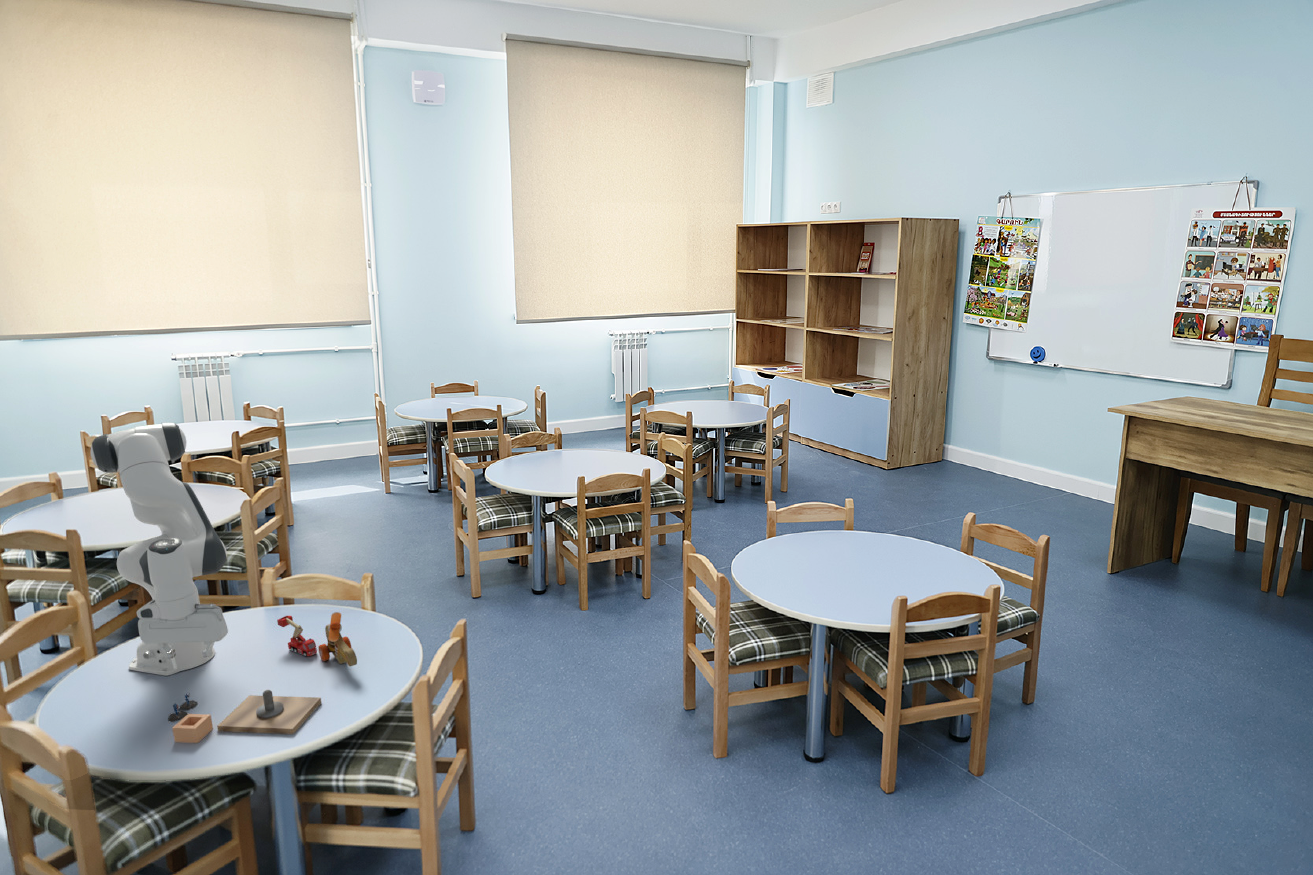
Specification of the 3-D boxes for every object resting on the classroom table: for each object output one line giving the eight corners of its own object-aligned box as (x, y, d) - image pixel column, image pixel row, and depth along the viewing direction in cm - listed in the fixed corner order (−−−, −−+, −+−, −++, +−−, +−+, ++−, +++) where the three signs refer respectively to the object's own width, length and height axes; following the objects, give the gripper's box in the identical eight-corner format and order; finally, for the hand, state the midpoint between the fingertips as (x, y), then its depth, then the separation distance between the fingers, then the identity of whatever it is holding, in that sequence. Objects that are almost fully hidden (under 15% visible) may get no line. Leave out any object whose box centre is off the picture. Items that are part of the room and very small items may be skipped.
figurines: (181, 723, 210) (178, 708, 209) (162, 723, 210) (159, 708, 209) (203, 701, 219) (200, 686, 218) (185, 701, 220) (183, 687, 219)
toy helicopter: (346, 647, 246) (340, 605, 243) (371, 674, 230) (365, 629, 227) (318, 656, 241) (311, 613, 238) (342, 684, 225) (335, 639, 222)
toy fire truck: (309, 658, 240) (304, 628, 238) (280, 647, 247) (276, 618, 245) (318, 653, 243) (314, 623, 240) (290, 642, 250) (286, 613, 248)
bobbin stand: (218, 731, 205) (213, 704, 203) (250, 700, 219) (246, 674, 217) (293, 734, 203) (289, 706, 201) (321, 702, 217) (317, 676, 215)
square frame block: (175, 742, 201) (172, 727, 200) (190, 727, 207) (188, 713, 206) (197, 743, 201) (195, 728, 200) (213, 728, 206) (210, 714, 206)
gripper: (227, 597, 199) (237, 649, 203) (146, 600, 200) (158, 651, 204) (212, 609, 193) (223, 662, 196) (129, 612, 194) (141, 664, 198)
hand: (189, 656), depth 200 cm, fingers open, 8 cm apart
